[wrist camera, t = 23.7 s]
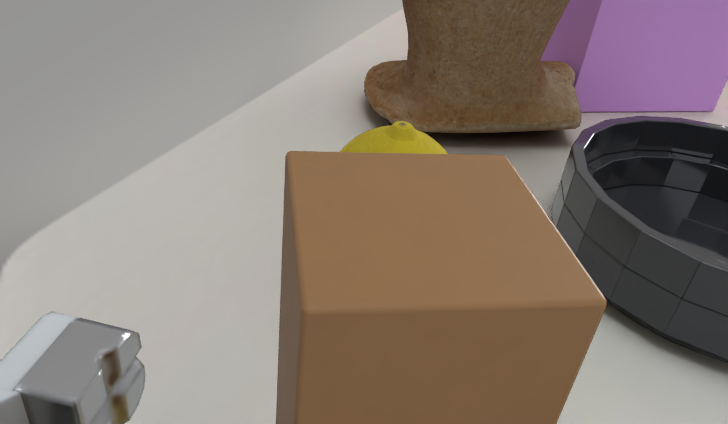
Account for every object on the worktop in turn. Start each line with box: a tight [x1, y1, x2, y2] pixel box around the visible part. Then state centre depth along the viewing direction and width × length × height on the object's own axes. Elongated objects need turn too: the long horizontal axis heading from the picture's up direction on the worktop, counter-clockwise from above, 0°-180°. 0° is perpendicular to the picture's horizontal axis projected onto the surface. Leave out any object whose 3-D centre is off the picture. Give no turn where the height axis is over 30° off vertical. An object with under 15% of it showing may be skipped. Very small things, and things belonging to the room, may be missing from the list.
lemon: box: [340, 121, 447, 154], centre depth 24 cm, size 6×6×8 cm
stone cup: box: [364, 0, 581, 133], centre depth 38 cm, size 15×12×15 cm
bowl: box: [552, 116, 728, 362], centre depth 29 cm, size 15×15×4 cm
